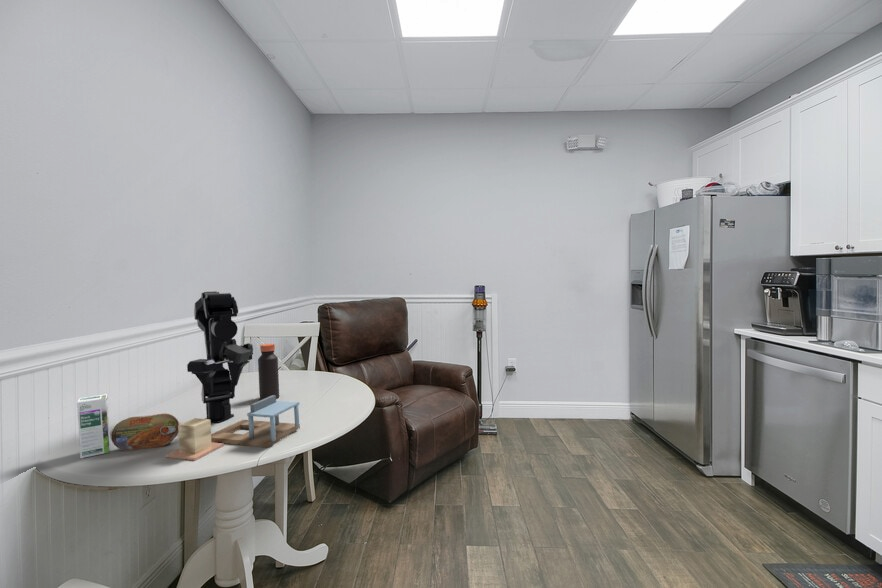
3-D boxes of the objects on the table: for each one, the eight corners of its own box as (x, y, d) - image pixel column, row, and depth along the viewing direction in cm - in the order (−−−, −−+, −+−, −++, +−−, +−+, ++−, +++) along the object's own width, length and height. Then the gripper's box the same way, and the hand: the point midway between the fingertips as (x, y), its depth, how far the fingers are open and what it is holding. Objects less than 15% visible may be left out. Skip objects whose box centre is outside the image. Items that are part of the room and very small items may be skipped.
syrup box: (79, 459, 102) (76, 401, 101) (82, 451, 107) (79, 396, 106) (109, 453, 105) (105, 397, 105) (110, 445, 110) (107, 392, 109)
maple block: (179, 452, 103) (178, 424, 103) (196, 444, 108) (195, 418, 108) (195, 454, 102) (193, 426, 101) (211, 446, 107) (210, 419, 106)
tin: (111, 453, 105) (109, 420, 105) (117, 448, 108) (115, 416, 108) (177, 444, 110) (176, 413, 109) (181, 440, 113) (180, 410, 112)
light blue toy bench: (248, 438, 109) (246, 406, 109) (276, 423, 120) (275, 394, 120) (273, 441, 107) (272, 407, 107) (300, 425, 118) (298, 395, 118)
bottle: (269, 394, 156) (267, 342, 155) (283, 396, 153) (281, 343, 153) (255, 399, 150) (253, 345, 149) (269, 401, 147) (267, 346, 146)
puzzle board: (205, 441, 111) (205, 436, 111) (242, 423, 125) (242, 419, 125) (267, 447, 106) (267, 442, 106) (299, 428, 120) (299, 424, 120)
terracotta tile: (166, 457, 102) (166, 454, 102) (196, 443, 110) (196, 440, 110) (195, 460, 99) (195, 458, 99) (223, 445, 108) (223, 443, 108)
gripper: (218, 342, 107) (220, 400, 108) (266, 332, 125) (268, 382, 126) (184, 341, 110) (187, 398, 111) (235, 332, 128) (238, 381, 129)
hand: (223, 389), depth 119 cm, fingers open, 9 cm apart
